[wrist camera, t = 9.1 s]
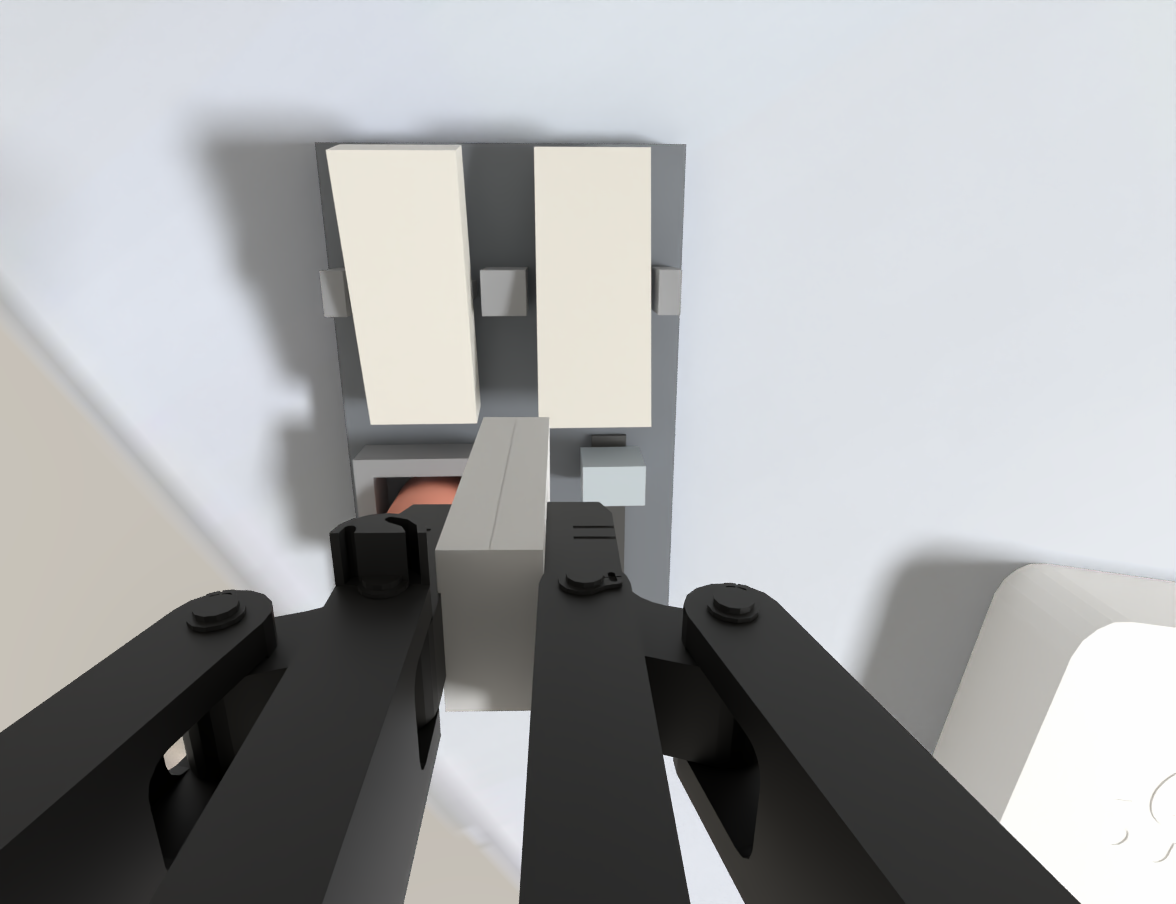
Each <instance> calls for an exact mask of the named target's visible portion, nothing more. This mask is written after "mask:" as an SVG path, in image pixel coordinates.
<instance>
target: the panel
mask: <svg viewBox="0 0 1176 904" xmlns="http://www.w3.org/2000/svg"><path fill="white" fill-rule="evenodd" d="M339 144H402V145H461V147H462V161H463V174H464V188H465V201H466V214H467V228H468V241H469V255H470V268H471V281H472V295H473V308H474V321H475V335H476V348H477V362H478V375H479V388H480V402H481V406H480V411H479V416H478V421H477V423H470V424H390V425H371V423H370V417H369V411H368V405H367V399H366V393H365V387H364V381H363V374H362V368H361V362H360V356H359V350H358V344H357V338H356V332H355V326H354V320H353V314H352V307H351V301H350V295H349V289H348V283H347V277H346V271H345V265H344V259H343V253H342V247H341V240H340V234H339V228H338V222H337V216H336V210H335V204H334V198H333V192H332V186H331V180H330V173H329V167H328V161H327V155H326V150H327V149H329V148H331V147H334V146H336V145H339ZM315 147H316V157H317V166H318V175H319V184H320V193H321V202H322V211H323V220H324V229H325V238H326V248H327V257H328V266H329V269H327V270H321V271H319V275H320V283H321V292H322V301H323V310H324V317H334V320H335V330H336V339H337V348H338V357H339V366H340V375H341V384H342V393H343V402H344V411H345V421H346V430H347V439H348V448H349V457H350V466H351V475H352V484H353V493H354V503H355V512H356V518H358V517H363V516H367V515H372V514H384V513H387V512H388V510H389V508H390V507H391V505H392V503H393V502H394V500H395V498H396V497H397V495H398V493H399V492H400V490H401V488H402V487H403V486H404V485H405V483H407V482H408V481H409V480H410V479H411V478H413V477H433V476H460V477H462V475H463V472H464V469H465V467H466V464H467V461H468V459H469V456H470V453H471V450H472V448H473V445H474V442H475V439H476V437H477V434H478V431H479V428H480V426H481V423H482V420H483V418H484V417H539V412H538V353H537V295H536V236H535V178H534V147H651V427H605V428H550V502H582V492H581V458H580V447H639V450H640V452H641V455H642V457H643V460H644V463H645V465H646V484H645V505H644V506H605V507H606V508H607V509H608V510H609V511H610V512H612V516H613V522H614V528H615V534H616V539H617V545H618V551H619V557H620V563H621V568H622V572H623V573H624V574H626V576H627V577H628V579H629V581H630V582H631V587H632V592H634V593H635V594H637V595H638V596H640V597H641V598H644V599H646V600H649V601H651V602H654V603H658V604H662V605H666V606H668V600H669V574H670V549H671V523H672V497H673V471H674V445H675V420H676V394H677V368H678V342H679V316H680V309H681V283H682V270H681V265H682V239H683V213H684V188H685V162H686V144H517V143H315Z"/></svg>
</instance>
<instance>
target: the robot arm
mask: <svg viewBox="0 0 1176 904" xmlns="http://www.w3.org/2000/svg"><path fill="white" fill-rule="evenodd" d="M329 534H330V543H331V551H332V559H333V568H334V576H335V584H336V587H335V588H334V590H333V592H332V593H331V595H330V597H329V598H328V600H327V602H326V604H325V605H324V607H322V608H318V609H314V610H310V611H306V612H300V613H295V614H289V615H284V616H278V617H274V612H273V606H272V601H271V600H270V599H269V598H268V597H266V596H265V595H264V594H261V593H257V592H254V591H248V590H223V592H220V591H217V592H213V593H209V594H207V595H206V596H203V597H200V598H197V599H194V600H191V601H189V602H187V603H186V604H184V605H182V606H180V607H178V608H176V609H175V610H173V611H172V612H170V613H169V614H167V615H166V616H164V617H163V618H162V619H160V620H159V621H157V622H156V623H155V624H153V625H152V626H151V627H149V628H148V629H146V630H145V631H143V632H142V633H140V634H139V635H138V636H136V637H135V638H133V639H132V640H131V641H129V642H128V643H126V644H125V645H124V646H122V647H121V648H119V649H118V650H116V651H115V652H114V653H112V654H111V655H109V656H108V657H107V658H105V659H104V660H102V661H101V662H99V663H98V664H97V665H95V666H94V667H92V668H91V669H90V670H88V671H87V672H85V673H84V674H83V675H81V676H80V677H78V678H77V679H75V680H74V681H73V682H71V683H70V684H68V685H67V686H66V687H64V688H63V689H61V690H60V691H59V692H57V693H56V694H54V695H53V696H52V697H50V698H49V699H47V700H46V701H45V702H43V703H42V704H40V705H39V706H37V707H36V708H34V709H33V710H32V711H30V712H29V713H28V714H26V715H25V716H23V717H22V718H20V719H19V720H18V721H16V722H15V723H14V724H12V725H11V726H9V727H8V728H6V729H5V730H3V731H2V732H1V733H0V904H404V899H405V895H406V890H407V885H408V881H409V876H410V872H411V867H412V863H413V859H414V854H415V849H416V845H417V840H418V836H419V831H420V827H421V822H422V818H423V813H424V809H425V804H426V800H427V795H428V791H429V786H430V782H431V777H432V773H433V768H434V764H435V759H436V755H437V750H438V746H439V741H440V737H441V733H440V717H439V704H440V700H441V696H442V692H443V688H444V695H445V711H446V712H463V711H528V710H531V716H530V733H529V749H528V765H527V782H526V798H525V814H524V831H523V847H522V863H521V879H520V896H519V904H690V899H689V894H688V888H687V883H686V878H685V872H684V867H683V861H682V856H681V851H680V845H679V840H678V835H677V829H676V824H675V818H674V813H673V808H672V802H671V797H670V791H669V786H668V781H667V775H666V770H665V764H664V759H663V755H667V756H671V757H673V761H674V765H675V769H676V773H677V775H678V777H679V779H680V781H681V783H682V785H683V786H684V788H685V790H686V792H687V794H688V796H689V798H690V800H691V802H692V804H693V806H694V807H695V809H696V811H697V813H698V815H699V817H700V819H701V821H702V823H703V825H704V827H705V828H706V830H707V832H708V834H709V836H710V838H711V840H712V842H713V844H714V846H715V847H716V849H717V851H718V853H719V855H720V857H721V859H722V861H723V863H724V865H725V867H726V868H727V870H728V872H729V874H730V876H731V878H732V880H733V882H734V884H735V886H736V888H737V889H738V891H739V893H740V895H741V897H742V899H743V901H744V903H745V904H1081V903H1080V902H1079V901H1078V900H1077V899H1076V898H1075V897H1074V896H1073V895H1072V894H1071V893H1070V892H1069V891H1068V890H1067V889H1066V888H1065V887H1064V886H1063V885H1062V884H1061V883H1060V882H1059V881H1058V880H1057V879H1056V878H1055V877H1054V876H1053V875H1052V874H1051V873H1050V872H1049V871H1048V870H1047V869H1046V868H1045V867H1044V866H1043V865H1042V864H1041V863H1040V862H1039V861H1038V860H1037V859H1036V858H1035V857H1034V856H1033V855H1032V854H1031V853H1030V852H1029V851H1028V850H1027V849H1026V848H1025V847H1024V846H1023V845H1022V844H1021V843H1020V842H1019V841H1017V840H1016V839H1015V838H1014V837H1013V836H1012V835H1011V834H1010V833H1009V832H1008V831H1007V830H1006V829H1005V828H1004V827H1003V826H1002V825H1001V824H1000V823H999V822H998V821H997V820H996V819H995V818H994V817H993V816H992V815H991V814H990V813H989V812H988V811H987V810H986V809H985V808H984V807H983V806H982V805H981V804H980V803H979V802H978V801H977V800H976V799H975V798H974V797H973V796H972V795H971V794H970V793H969V792H968V791H967V790H966V789H965V788H964V787H963V786H962V785H961V784H960V783H959V782H958V781H957V780H956V779H955V778H954V777H953V776H952V775H951V774H950V773H949V772H948V771H947V770H946V769H945V768H944V767H943V766H942V765H941V764H940V763H939V762H938V761H937V760H936V759H935V758H934V757H933V756H932V755H931V754H930V753H929V752H928V751H927V750H926V749H925V748H924V747H923V746H922V745H921V744H920V743H919V742H918V741H917V740H916V739H915V738H914V737H913V736H912V735H911V734H910V733H909V732H908V731H907V730H906V729H905V728H904V727H903V726H902V725H901V724H900V723H899V722H898V721H897V720H896V719H895V718H894V717H893V716H892V715H891V714H890V713H889V712H888V711H887V710H886V709H885V708H884V707H883V706H882V705H880V704H879V703H878V702H877V701H876V700H875V699H874V698H873V697H872V696H871V695H870V694H869V693H868V692H867V691H866V690H865V689H864V688H863V687H862V686H861V685H860V684H859V683H858V682H857V681H856V680H855V679H854V678H853V677H852V676H851V675H850V674H849V673H848V672H847V671H846V670H845V669H844V668H843V667H842V666H841V665H840V664H839V663H838V662H837V661H836V660H835V659H834V658H833V657H832V656H831V655H830V654H829V653H828V652H827V651H826V650H825V649H824V648H823V647H822V646H821V645H820V644H819V643H818V642H817V641H816V640H815V639H814V638H813V637H812V636H811V635H810V634H809V633H808V632H807V631H806V630H805V629H804V628H803V627H802V626H801V625H800V624H799V623H798V622H797V621H796V620H795V619H794V618H793V617H792V616H791V615H790V614H789V613H788V612H787V611H786V610H785V609H784V608H783V607H782V606H781V605H780V604H779V603H778V602H777V601H775V600H774V599H772V598H771V597H770V596H768V595H767V594H765V593H764V592H761V591H758V590H756V589H753V588H750V587H748V586H746V585H741V584H738V585H736V583H724V584H710V585H706V586H703V587H699V588H696V589H695V590H694V591H692V592H691V593H689V594H688V595H687V597H686V599H685V602H684V606H683V608H677V607H672V606H666V605H662V604H658V603H654V602H651V601H649V600H646V599H644V598H641V597H640V596H638V595H637V594H635V593H634V592H632V587H631V582H630V581H629V579H628V577H627V576H626V574H624V573H623V572H622V568H621V563H620V557H619V551H618V545H617V539H616V534H615V528H614V522H613V516H612V512H610V511H609V510H608V509H607V508H606V507H605V506H603V505H602V504H601V503H600V502H550V425H549V417H484V418H483V420H482V423H481V426H480V428H479V431H478V434H477V437H476V439H475V442H474V445H473V448H472V450H471V453H470V456H469V459H468V461H467V464H466V467H465V469H464V472H463V475H462V478H461V480H460V483H459V486H458V489H457V491H456V494H455V497H454V500H453V502H452V504H413V505H411V506H410V507H408V508H407V509H405V510H404V511H402V512H401V513H399V514H395V513H384V514H372V515H367V516H363V517H358V518H354V519H351V520H349V521H347V522H345V523H342V524H340V525H338V526H337V527H336V528H335V529H334V530H332V531H331V532H330V533H329ZM182 736H183V741H184V745H185V750H186V756H185V757H184V758H183V759H182V760H181V761H180V762H179V763H178V764H177V765H176V766H175V767H173V768H172V769H170V770H168V769H167V767H166V765H165V760H164V756H163V755H164V754H165V753H166V751H167V750H168V749H169V748H170V747H171V746H172V745H173V744H174V743H175V742H177V741H178V740H179V739H180V738H181V737H182Z"/></svg>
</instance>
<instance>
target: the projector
mask: <svg viewBox="0 0 1176 904" xmlns="http://www.w3.org/2000/svg"><path fill="white" fill-rule="evenodd" d="M933 757H934V758H935V759H936V760H937V761H938V762H939V763H940V764H941V765H942V766H943V767H944V768H945V769H946V770H947V771H948V772H949V773H950V774H951V775H952V776H953V777H954V778H955V779H956V780H957V781H958V782H959V783H960V784H961V785H962V786H963V787H964V788H965V789H966V790H967V791H968V792H969V793H970V794H971V795H972V796H973V797H974V798H975V799H976V800H977V801H978V802H979V803H980V804H981V805H982V806H983V807H984V808H985V809H986V810H987V811H988V812H989V813H990V814H991V815H992V816H993V817H994V818H995V819H996V820H997V821H998V822H999V823H1000V824H1001V825H1002V826H1003V827H1004V828H1005V829H1006V830H1007V831H1008V832H1009V833H1010V834H1011V835H1012V836H1013V837H1014V838H1015V839H1016V840H1017V841H1019V842H1020V843H1021V844H1022V845H1023V846H1024V847H1025V848H1026V849H1027V850H1028V851H1029V852H1030V853H1031V854H1032V855H1033V856H1034V857H1035V858H1036V859H1037V860H1038V861H1039V862H1040V863H1041V864H1042V865H1043V866H1044V867H1045V868H1046V869H1047V870H1048V871H1049V872H1050V873H1051V874H1052V875H1053V876H1054V877H1055V878H1056V879H1057V880H1058V881H1059V882H1060V883H1061V884H1062V885H1063V886H1064V887H1065V888H1066V889H1067V890H1068V891H1069V892H1070V893H1071V894H1072V895H1073V896H1074V897H1075V898H1076V899H1077V900H1078V901H1079V902H1080V903H1081V904H1176V582H1173V581H1166V580H1159V579H1152V578H1145V577H1138V576H1131V575H1124V574H1117V573H1110V572H1103V571H1096V570H1089V569H1082V568H1075V567H1068V566H1061V565H1054V564H1047V563H1039V564H1028V565H1026V566H1023V567H1021V568H1019V569H1017V570H1015V571H1014V572H1013V573H1011V574H1010V575H1009V576H1008V577H1006V578H1005V579H1004V580H1003V581H1002V583H1001V585H1000V586H999V588H998V589H997V591H996V592H995V594H994V596H993V599H992V601H991V604H990V607H989V609H988V612H987V614H986V617H985V620H984V622H983V625H982V628H981V630H980V633H979V635H978V638H977V641H976V643H975V646H974V648H973V651H972V654H971V656H970V659H969V662H968V664H967V667H966V669H965V672H964V675H963V677H962V680H961V682H960V685H959V688H958V690H957V693H956V695H955V698H954V701H953V703H952V706H951V709H950V711H949V714H948V716H947V719H946V722H945V724H944V727H943V729H942V732H941V735H940V737H939V740H938V743H937V745H936V748H935V750H934V753H933Z"/></svg>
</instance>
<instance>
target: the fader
mask: <svg viewBox="0 0 1176 904" xmlns="http://www.w3.org/2000/svg"><path fill="white" fill-rule="evenodd" d="M580 458H581V492H582V502H600V503H601V504H602V505H603V506H644V505H645V484H646V465H645V463H644V460H643V457H642V455H641V452H640V450H639V447H580Z"/></svg>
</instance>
